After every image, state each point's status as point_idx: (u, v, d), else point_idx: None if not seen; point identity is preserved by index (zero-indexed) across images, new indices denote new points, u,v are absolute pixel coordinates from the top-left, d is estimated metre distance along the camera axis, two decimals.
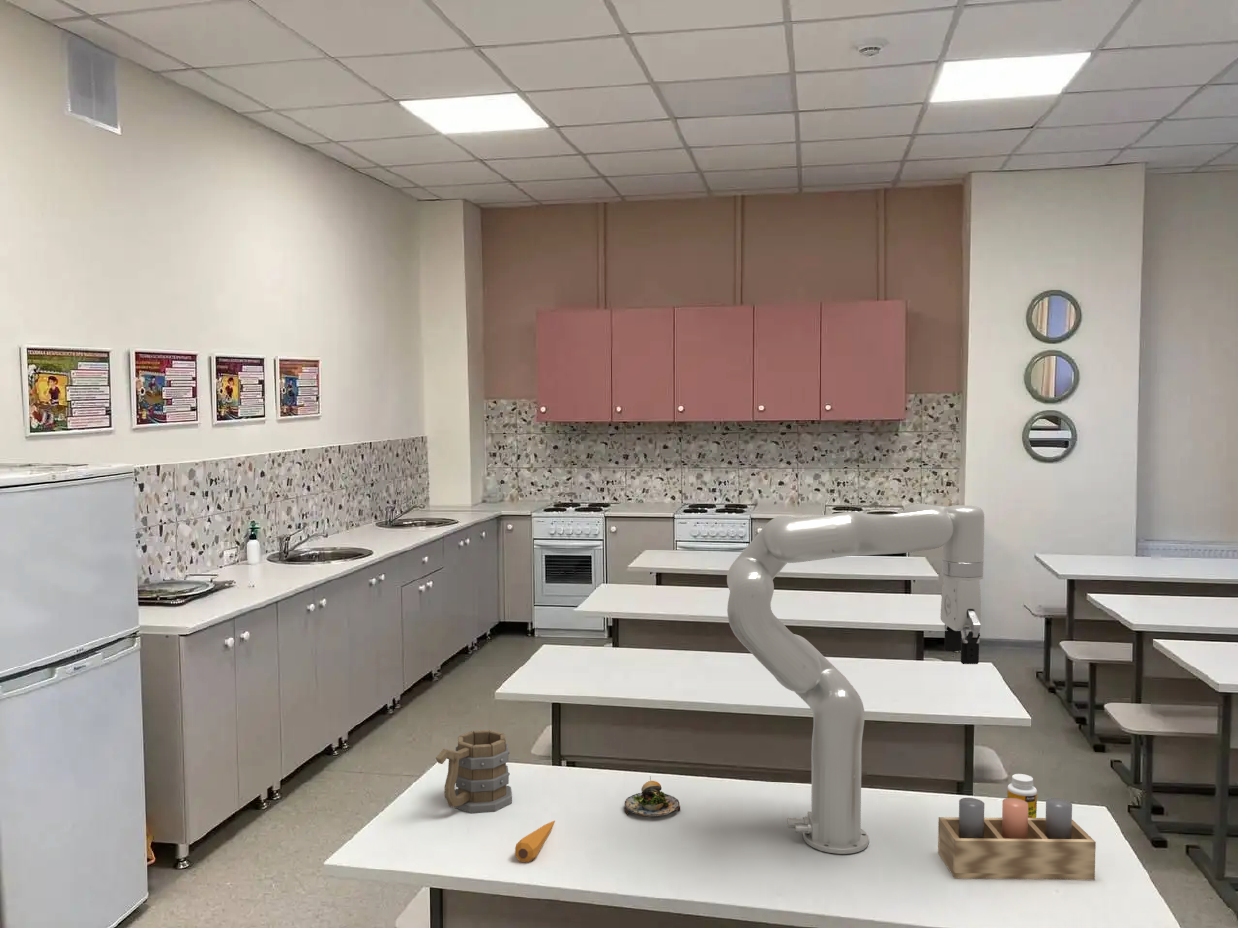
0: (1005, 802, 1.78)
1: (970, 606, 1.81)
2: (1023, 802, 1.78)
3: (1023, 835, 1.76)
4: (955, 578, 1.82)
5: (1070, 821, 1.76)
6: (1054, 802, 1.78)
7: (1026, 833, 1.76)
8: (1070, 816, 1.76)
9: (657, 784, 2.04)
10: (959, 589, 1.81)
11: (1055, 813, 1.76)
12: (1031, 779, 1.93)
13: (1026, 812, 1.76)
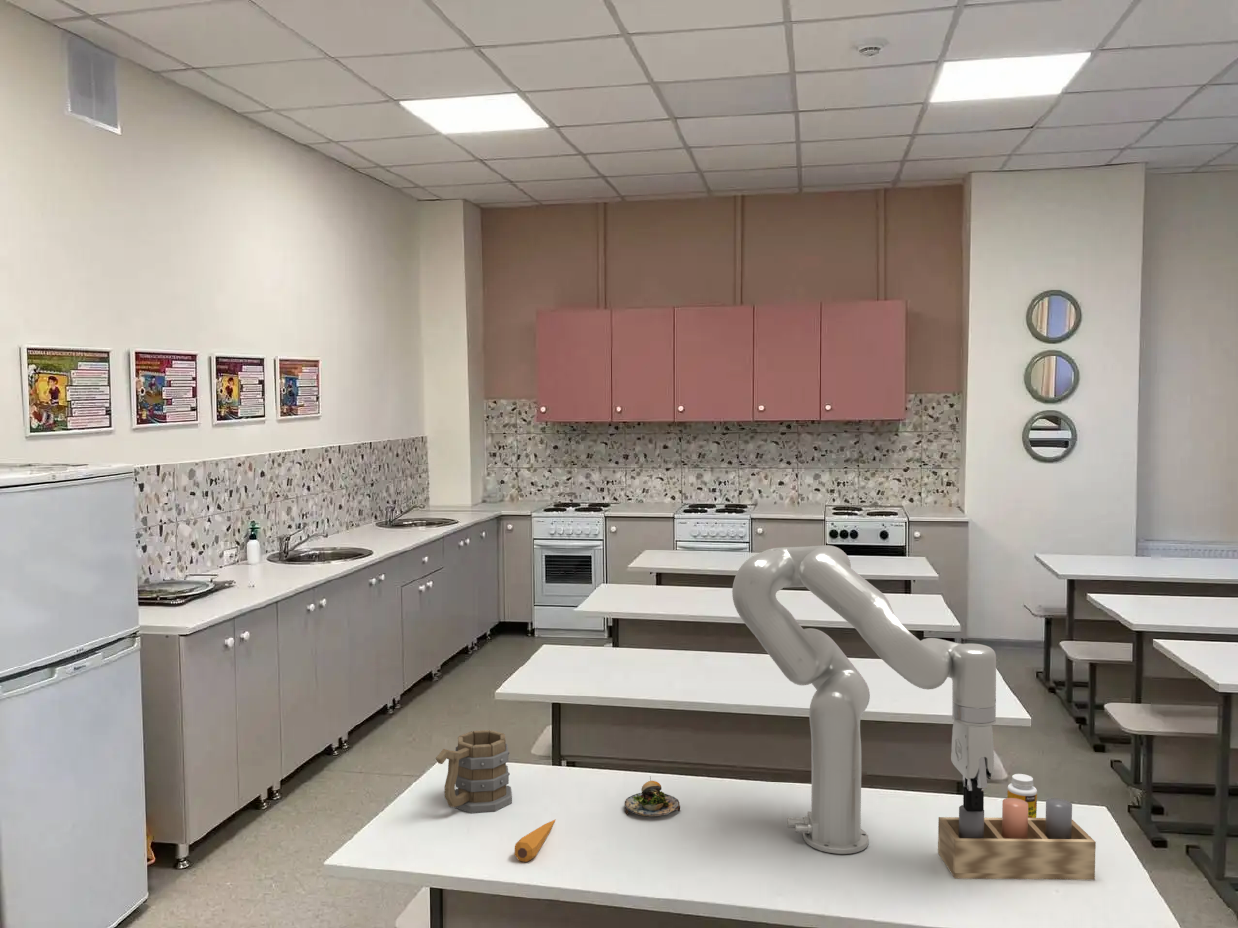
0: (1005, 802, 1.78)
1: (982, 755, 1.72)
2: (1023, 802, 1.78)
3: (1023, 835, 1.76)
4: (966, 723, 1.74)
5: (1070, 821, 1.76)
6: (1054, 802, 1.78)
7: (1026, 833, 1.76)
8: (1070, 816, 1.76)
9: (657, 784, 2.04)
10: (970, 736, 1.72)
11: (1055, 813, 1.76)
12: (1031, 779, 1.93)
13: (1026, 812, 1.76)
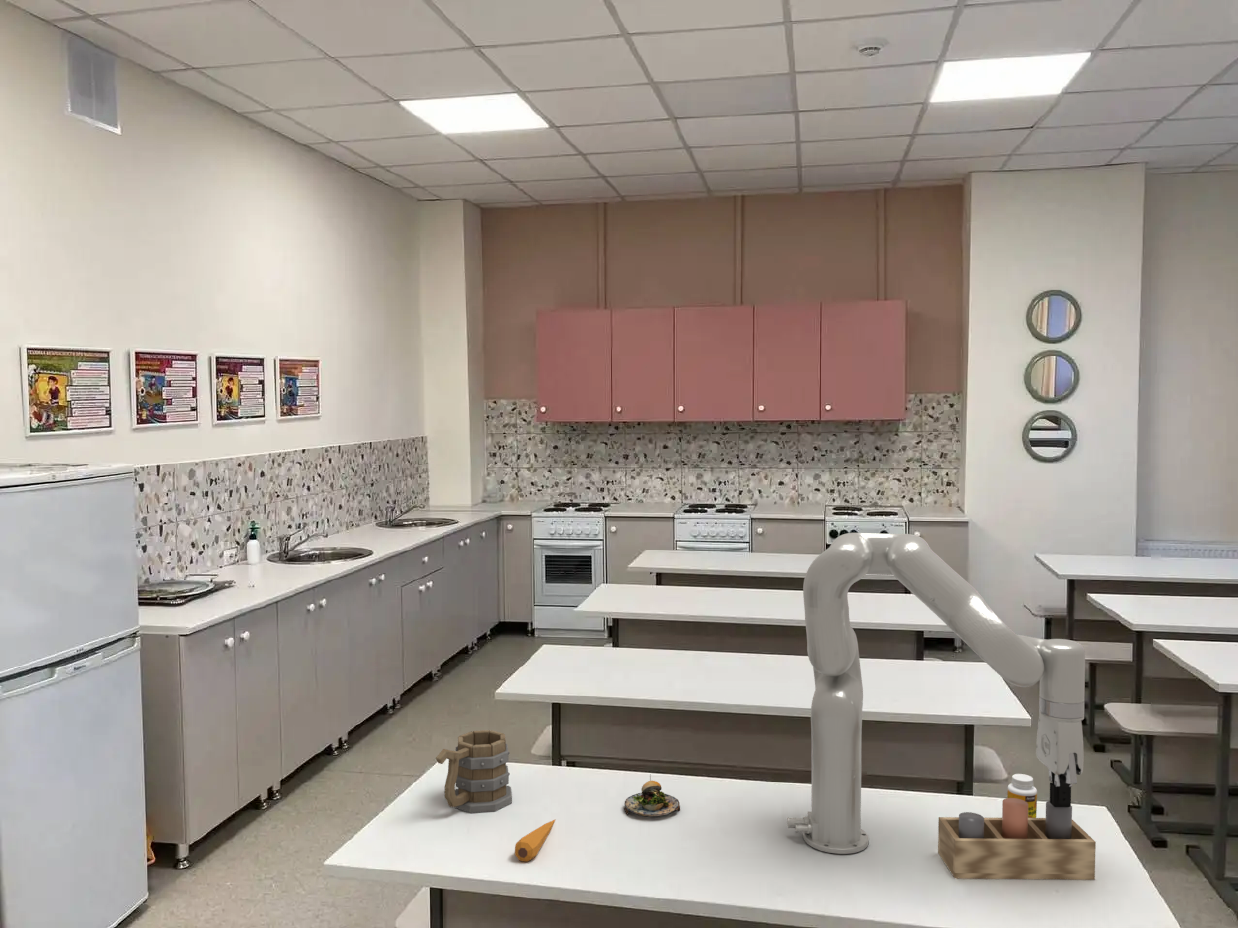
0: (1005, 802, 1.78)
1: (1072, 750, 1.72)
2: (1023, 802, 1.78)
3: (1023, 835, 1.76)
4: (1055, 719, 1.73)
5: (1070, 823, 1.76)
6: None
7: (1026, 833, 1.76)
8: (1070, 818, 1.76)
9: (657, 784, 2.04)
10: (1060, 732, 1.72)
11: (1055, 815, 1.76)
12: (1031, 779, 1.93)
13: (1026, 812, 1.76)
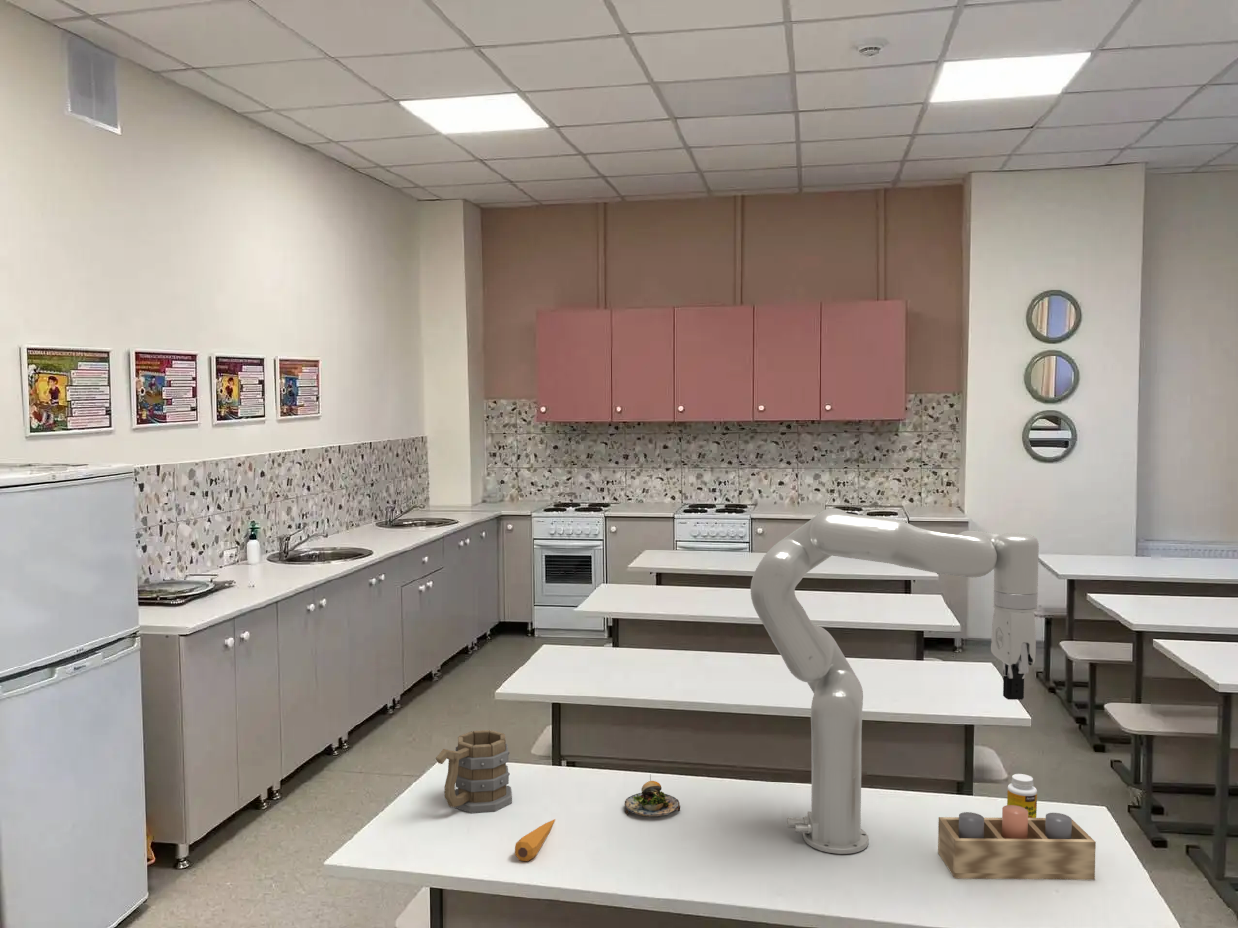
0: (1005, 809, 1.78)
1: (1024, 640, 1.73)
2: (1023, 809, 1.78)
3: None
4: (1008, 610, 1.74)
5: (1070, 836, 1.76)
6: (1054, 817, 1.78)
7: None
8: (1070, 831, 1.76)
9: (657, 784, 2.04)
10: (1013, 622, 1.73)
11: (1054, 828, 1.76)
12: (1031, 779, 1.93)
13: (1026, 819, 1.76)
